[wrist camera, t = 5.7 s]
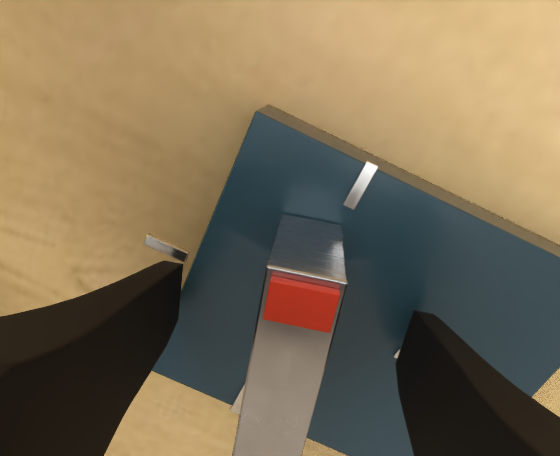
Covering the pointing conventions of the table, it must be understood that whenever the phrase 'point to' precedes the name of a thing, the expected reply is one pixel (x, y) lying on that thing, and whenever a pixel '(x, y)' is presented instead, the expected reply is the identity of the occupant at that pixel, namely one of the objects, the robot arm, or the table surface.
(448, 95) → the table surface
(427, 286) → the tap console
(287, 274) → the tap handle
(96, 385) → the robot arm
